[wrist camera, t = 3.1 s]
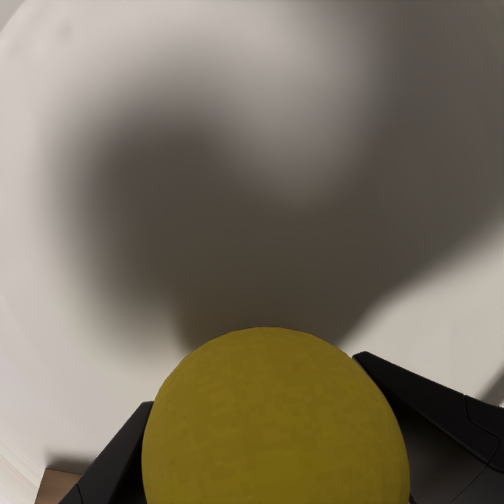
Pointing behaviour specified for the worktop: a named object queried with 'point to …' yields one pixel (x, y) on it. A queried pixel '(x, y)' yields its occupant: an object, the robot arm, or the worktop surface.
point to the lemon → (272, 427)
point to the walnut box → (55, 486)
